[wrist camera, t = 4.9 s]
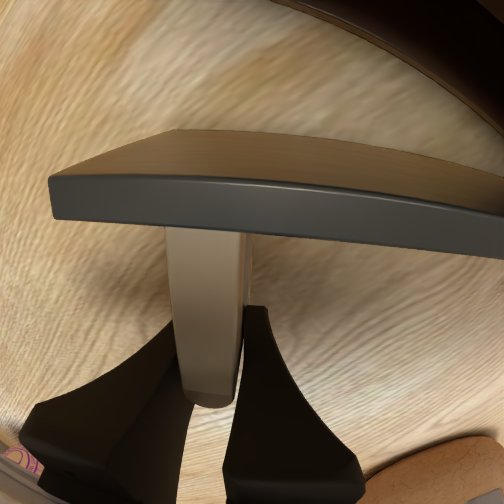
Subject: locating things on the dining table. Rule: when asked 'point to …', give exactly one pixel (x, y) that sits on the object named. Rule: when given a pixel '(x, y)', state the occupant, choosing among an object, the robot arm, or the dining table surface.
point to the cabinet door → (269, 219)
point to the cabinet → (433, 41)
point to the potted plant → (440, 474)
